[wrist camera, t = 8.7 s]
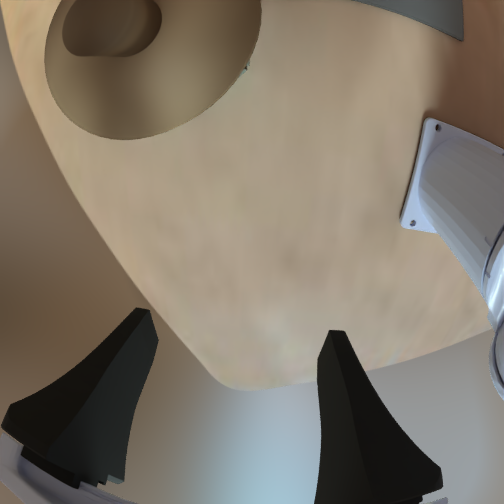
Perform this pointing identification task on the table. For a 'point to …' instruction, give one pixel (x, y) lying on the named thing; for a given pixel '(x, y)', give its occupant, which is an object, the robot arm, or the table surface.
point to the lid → (146, 60)
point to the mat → (428, 13)
